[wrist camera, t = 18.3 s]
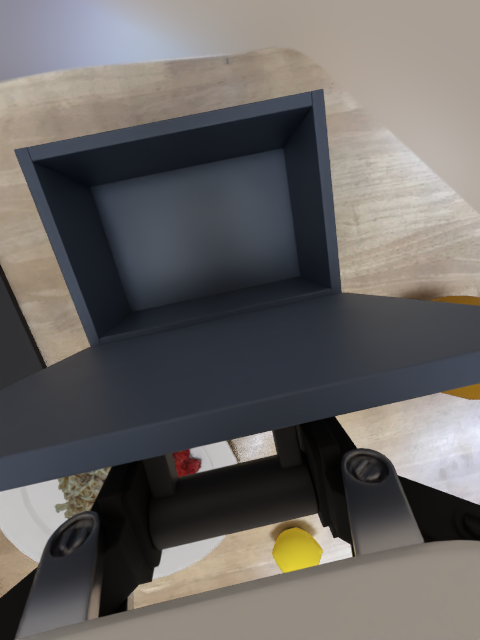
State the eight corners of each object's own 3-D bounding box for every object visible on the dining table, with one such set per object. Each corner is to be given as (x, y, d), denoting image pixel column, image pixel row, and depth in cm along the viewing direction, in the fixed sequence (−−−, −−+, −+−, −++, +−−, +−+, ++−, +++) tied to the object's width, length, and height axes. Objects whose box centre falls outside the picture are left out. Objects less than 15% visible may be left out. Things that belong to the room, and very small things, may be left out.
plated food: (-29, 535, 35) (-54, 565, 32) (39, 339, 29) (17, 351, 25) (185, 587, 41) (182, 616, 37) (281, 433, 34) (287, 453, 31)
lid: (-261, 516, 6) (-158, 696, 6) (623, 318, 6) (620, 508, 7) (87, 347, 20) (106, 409, 21) (344, 292, 20) (353, 354, 21)
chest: (82, 181, 25) (13, 149, 16) (288, 139, 25) (323, 88, 17) (128, 318, 29) (91, 350, 20) (306, 280, 29) (342, 296, 21)
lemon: (267, 546, 40) (274, 592, 35) (270, 519, 38) (278, 562, 33) (313, 544, 40) (327, 588, 35) (317, 516, 39) (332, 558, 34)
